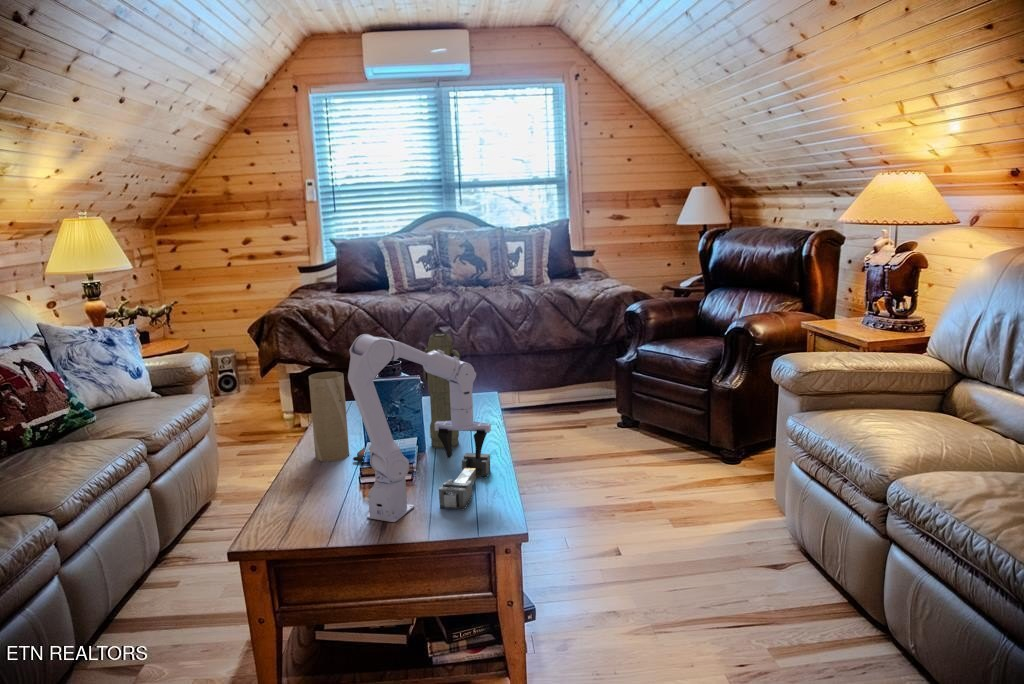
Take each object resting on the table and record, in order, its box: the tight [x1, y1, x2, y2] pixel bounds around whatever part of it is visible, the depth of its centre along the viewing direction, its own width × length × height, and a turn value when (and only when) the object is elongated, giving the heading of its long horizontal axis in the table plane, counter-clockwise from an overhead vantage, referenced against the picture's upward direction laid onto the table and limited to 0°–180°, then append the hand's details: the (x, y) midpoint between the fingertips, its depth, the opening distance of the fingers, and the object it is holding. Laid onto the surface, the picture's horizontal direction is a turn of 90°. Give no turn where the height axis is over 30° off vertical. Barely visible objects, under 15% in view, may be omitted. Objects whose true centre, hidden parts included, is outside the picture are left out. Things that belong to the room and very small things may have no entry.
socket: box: [461, 452, 491, 478], centre depth 197 cm, size 5×7×5 cm
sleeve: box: [438, 478, 474, 510], centre depth 179 cm, size 8×6×5 cm
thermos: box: [422, 332, 461, 450], centre depth 220 cm, size 9×12×35 cm
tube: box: [308, 371, 350, 463], centre depth 214 cm, size 10×10×25 cm
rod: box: [444, 468, 477, 507], centre depth 183 cm, size 18×3×3 cm, turn 168°
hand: (463, 457), depth 185 cm, fingers open, 7 cm apart
